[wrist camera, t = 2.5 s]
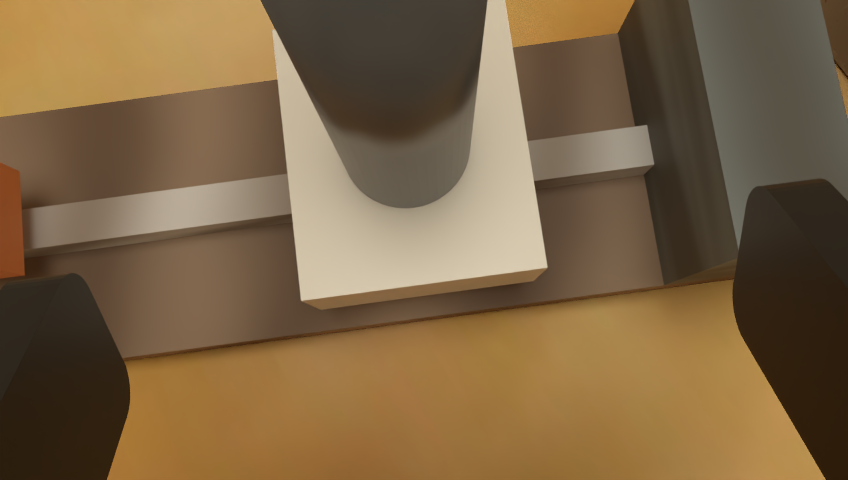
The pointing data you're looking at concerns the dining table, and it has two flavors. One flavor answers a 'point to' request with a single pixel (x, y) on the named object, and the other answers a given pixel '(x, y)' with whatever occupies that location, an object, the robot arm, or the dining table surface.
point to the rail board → (550, 159)
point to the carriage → (404, 148)
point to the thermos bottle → (837, 29)
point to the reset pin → (10, 224)
